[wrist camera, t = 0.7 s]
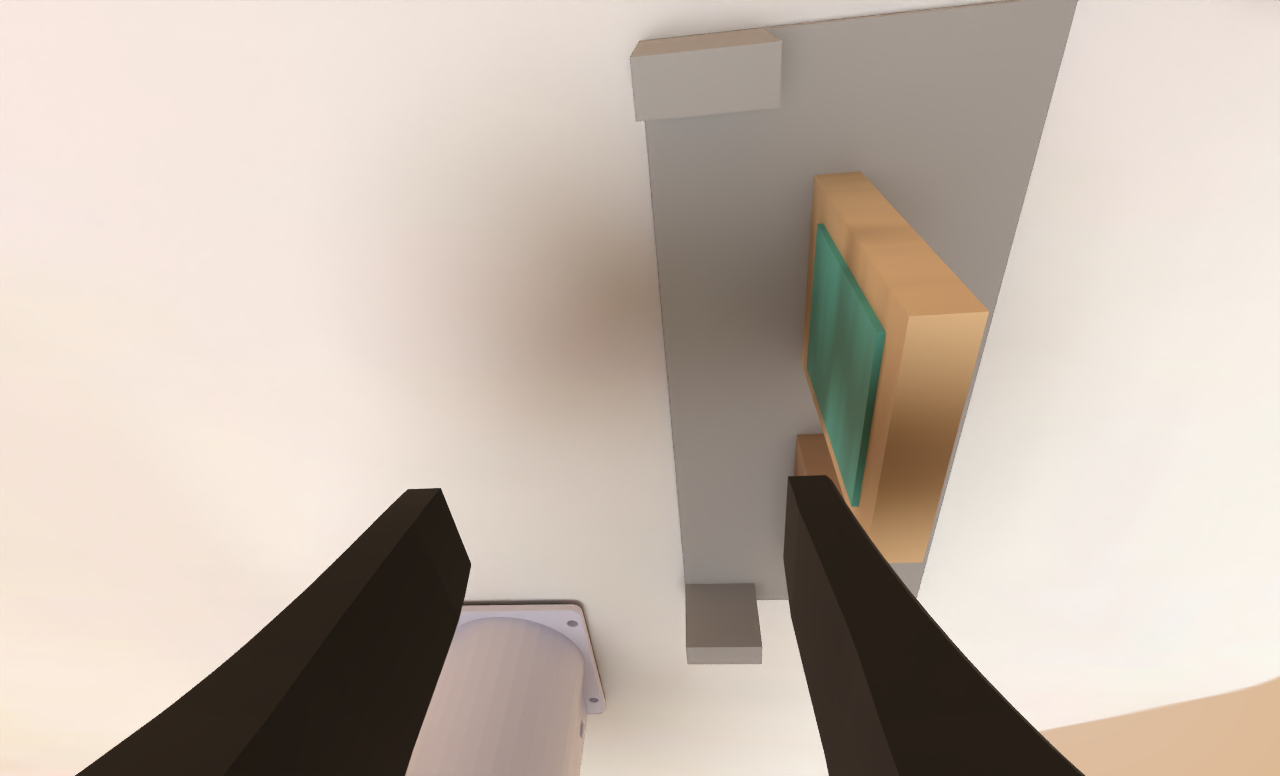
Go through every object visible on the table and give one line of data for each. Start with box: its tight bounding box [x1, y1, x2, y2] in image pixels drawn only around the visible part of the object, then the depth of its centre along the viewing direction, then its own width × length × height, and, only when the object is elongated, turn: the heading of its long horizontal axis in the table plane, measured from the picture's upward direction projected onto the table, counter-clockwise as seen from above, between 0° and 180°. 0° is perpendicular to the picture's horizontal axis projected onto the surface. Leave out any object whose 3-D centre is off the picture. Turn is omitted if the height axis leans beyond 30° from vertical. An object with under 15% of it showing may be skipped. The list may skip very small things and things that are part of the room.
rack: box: [630, 0, 1078, 664], centre depth 19 cm, size 22×10×4 cm, turn 6°
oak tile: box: [802, 171, 989, 563], centre depth 14 cm, size 6×1×8 cm, turn 6°
